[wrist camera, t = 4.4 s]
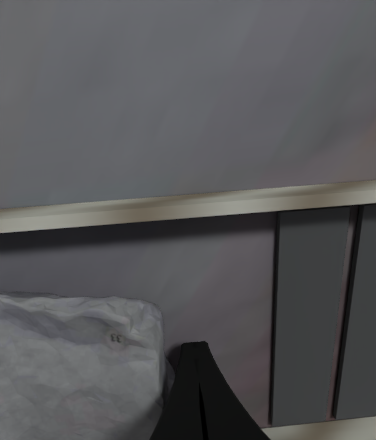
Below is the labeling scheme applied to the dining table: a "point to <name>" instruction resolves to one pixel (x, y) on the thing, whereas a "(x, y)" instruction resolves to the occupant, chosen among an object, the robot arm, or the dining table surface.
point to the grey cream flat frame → (202, 207)
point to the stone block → (81, 367)
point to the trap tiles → (323, 315)
